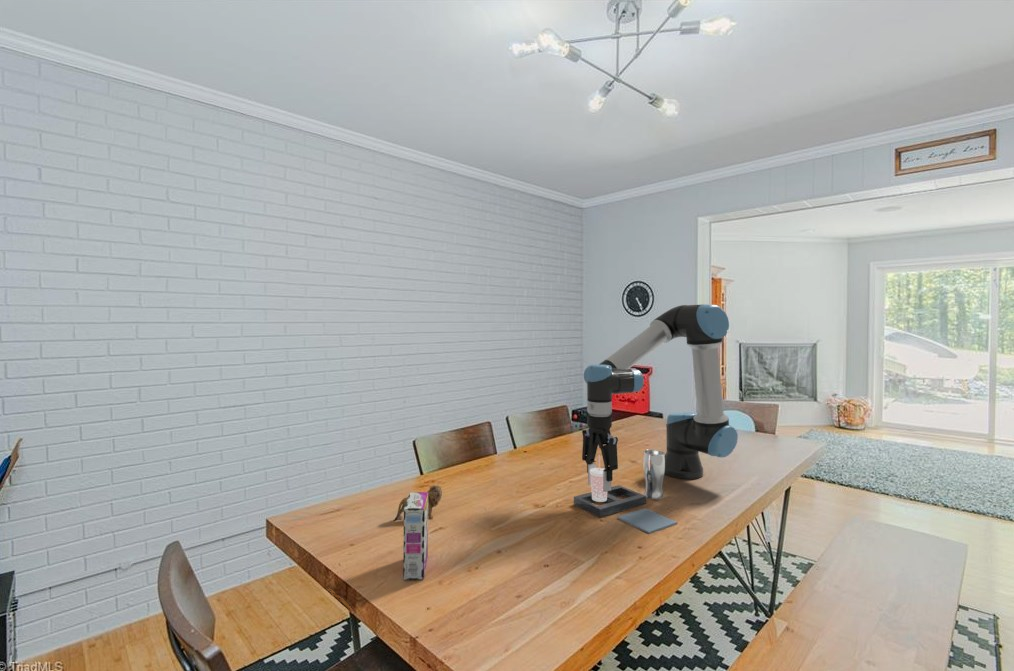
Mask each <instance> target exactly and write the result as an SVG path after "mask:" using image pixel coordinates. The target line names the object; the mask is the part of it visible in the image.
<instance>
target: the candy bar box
mask: <svg viewBox="0 0 1014 671" xmlns="http://www.w3.org/2000/svg"><path fill="white" fill-rule="evenodd" d="M407 497H408V499H407V501H406V504H405V507H404V512H403V561H402V562H403V564H402V565H403V569H402V570H403V571H402V573H403V575H402V576H403V577H402V580H403V581H421V580H425V574H426V569H427V563H428V556H429V555H428V554H429V550H428V549H429V547H428V546H429V517H428V491H423V492H421V491H419V492H409V493H408V496H407Z"/></svg>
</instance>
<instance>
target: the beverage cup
mask: <svg viewBox="0 0 1014 671" xmlns="http://www.w3.org/2000/svg"><path fill="white" fill-rule="evenodd" d="M604 469H605V467H601V455H600V454H598V467H596V468H592V469H590V470H589V471H590V475H591V485H590V488H591V491H590V492H592V500H594V501H597V503H602V502H604V501H606V500H607V492H604V491H603V470H604Z"/></svg>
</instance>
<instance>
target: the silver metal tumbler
mask: <svg viewBox="0 0 1014 671" xmlns="http://www.w3.org/2000/svg"><path fill="white" fill-rule="evenodd" d="M665 454H666V452H664V451H663V450H658V449H646V450H644V451H643V464H642V467H643V475H644V476H643V477H644V482H645V489H644V493H643V495H645V496H646V499H649V500H652V501H653V500H654V501H660V500H663V499H664V491H663V482H664V479H665V478H664V477H665V474H664V473H665Z"/></svg>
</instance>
